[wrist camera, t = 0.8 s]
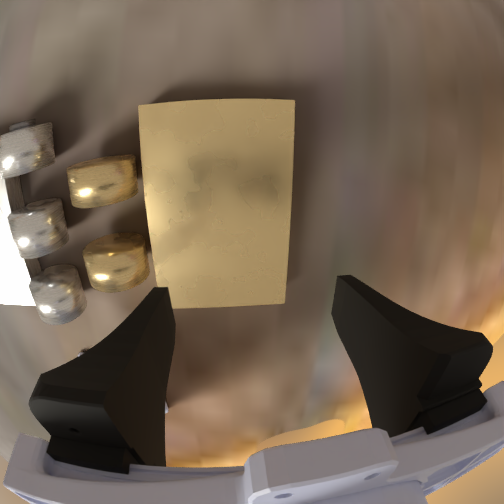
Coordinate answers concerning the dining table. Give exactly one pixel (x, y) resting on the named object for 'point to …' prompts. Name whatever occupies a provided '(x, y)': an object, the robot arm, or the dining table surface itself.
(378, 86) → the dining table surface
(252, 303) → the plate
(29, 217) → the steel leaf
